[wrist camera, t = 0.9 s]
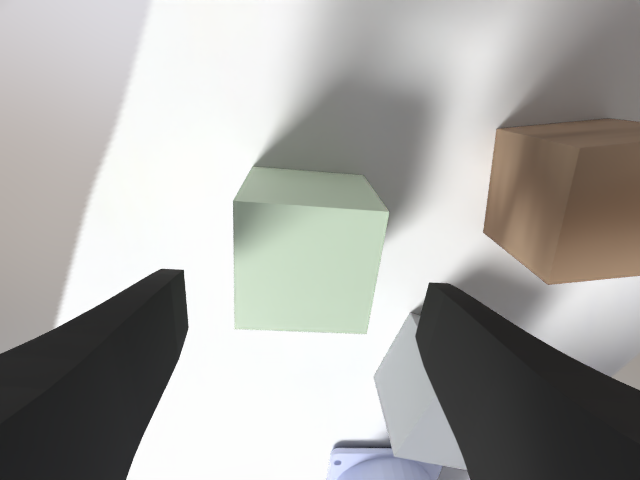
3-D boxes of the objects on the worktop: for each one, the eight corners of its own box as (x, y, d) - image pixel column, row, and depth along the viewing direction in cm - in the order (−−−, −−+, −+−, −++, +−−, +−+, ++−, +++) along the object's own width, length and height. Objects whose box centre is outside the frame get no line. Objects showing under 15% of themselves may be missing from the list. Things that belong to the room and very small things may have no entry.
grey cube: (443, 392, 22) (482, 473, 17) (373, 375, 21) (393, 456, 16) (484, 333, 20) (539, 406, 15) (409, 311, 19) (444, 383, 14)
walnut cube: (579, 222, 17) (679, 271, 13) (482, 231, 17) (548, 284, 13) (606, 118, 15) (737, 133, 11) (495, 128, 15) (580, 147, 11)
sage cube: (349, 269, 18) (366, 333, 13) (251, 264, 17) (234, 329, 13) (363, 174, 16) (389, 212, 11) (252, 165, 15) (233, 200, 11)
